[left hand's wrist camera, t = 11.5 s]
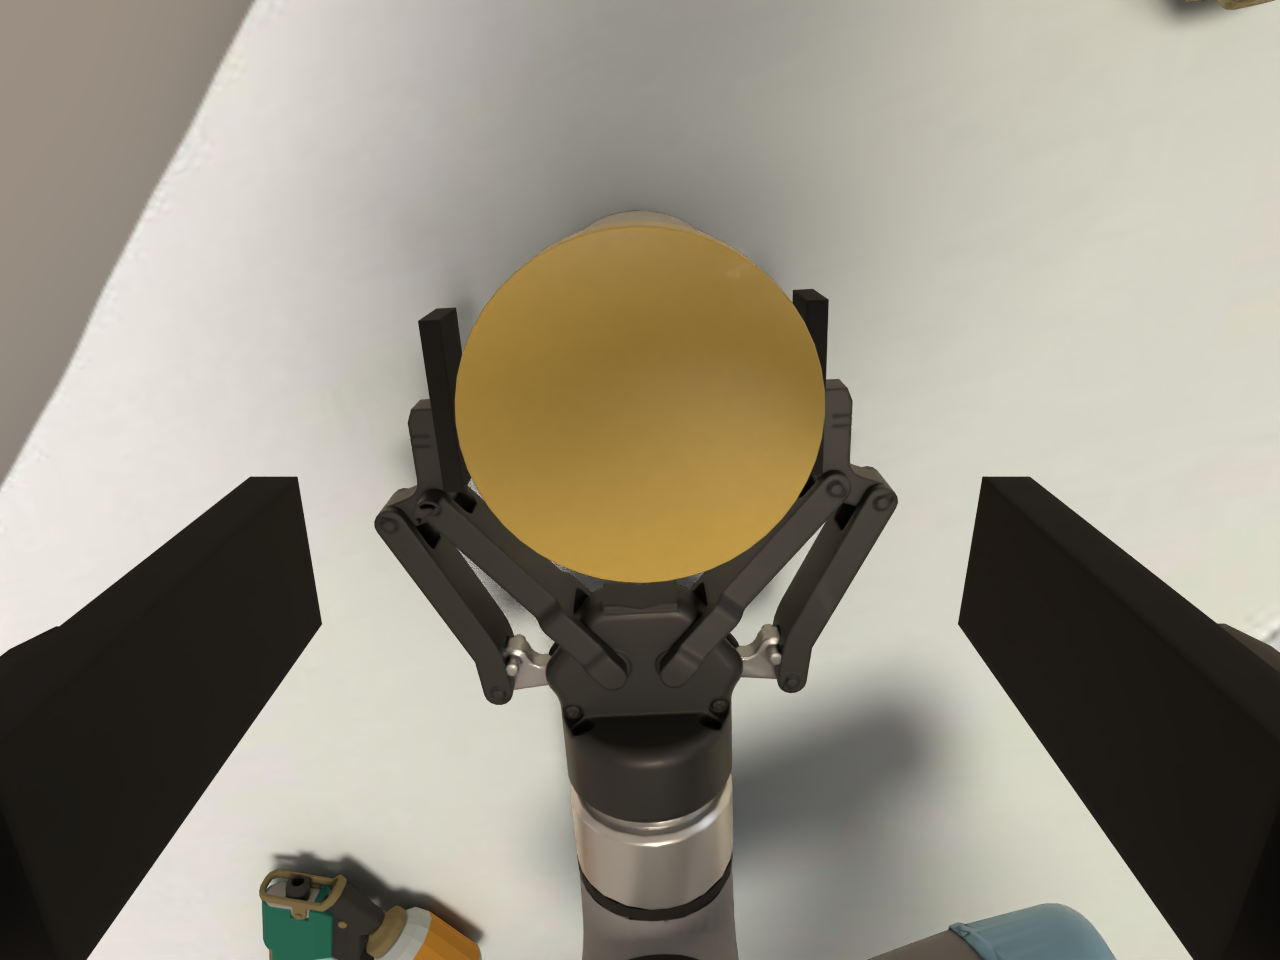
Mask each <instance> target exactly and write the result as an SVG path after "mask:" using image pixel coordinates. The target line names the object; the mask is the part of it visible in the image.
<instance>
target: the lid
mask: <svg viewBox="0 0 1280 960" xmlns="http://www.w3.org/2000/svg"><path fill="white" fill-rule="evenodd" d="M455 417H456V427H457V433H458V438H459V444H460V448H461V451H462V454H463V457H464V460H465V463H466V467H467V469H468V471H469V473H470V476H471V478H472V480H473V482H474V484H475V486H476V488H477V490H478V491H479V493H480V494H481V496H482V498H483V499H484V501H485V502H486V504H487V505H488V507H489V508H490V509H491V511H492V512H493V513H494V514H495V515H496V517H497V518H498V519H499V520H500V521H501V523H502V524H503V525H504V526H505V527H506V528H507V529H508V530H509V531H511V532H512V533H513V534H514V535H515V536H516V537H517V538H518V539H519V540H520V541H522V542H523V543H524V544H526V545H527V546H529V547H530V548H531V549H533V550H534V551H536V552H537V553H538V554H540V555H542V556H544V557H545V558H547V559H549V560H551V561H553V562H555V563H556V564H558V565H561V566H563V567H566V568H568V569H571V570H573V571H576V572H578V573H581V574H585V575H589V576H592V577H596V578H600V579H606V580H612V581H619V582H636V583H648V582H660V581H669V580H674V579H679V578H684V577H689V576H692V575H695V574H698V573H701V572H704V571H707V570H710V569H712V568H714V567H717V566H719V565H721V564H723V563H725V562H727V561H730V560H731V559H733V558H735V557H736V556H738V555H739V554H741V553H743V552H744V551H746V550H748V549H749V548H750V547H752V546H753V545H754V544H755V543H757V542H758V541H759V540H760V539H762V538H763V537H764V536H765V535H767V534H768V533H769V532H770V531H771V530H772V529H773V528H774V526H775V525H776V524H777V523H778V522H779V521H780V520H781V519H782V518H783V517H784V516H785V514H786V513H787V512H788V510H789V509H790V508H791V506H792V505H793V504H794V502H795V501H796V500H797V498H798V496H799V494H800V493H801V491H802V489H803V487H804V486H805V484H806V482H807V480H808V478H809V476H810V473H811V471H812V468H813V466H814V464H815V461H816V458H817V454H818V451H819V447H820V443H821V439H822V434H823V426H824V418H825V389H824V383H823V376H822V369H821V365H820V361H819V358H818V355H817V351H816V348H815V344H814V342H813V340H812V338H811V335H810V333H809V331H808V329H807V327H806V324H805V322H804V321H803V319H802V317H801V316H800V314H799V313H798V311H797V310H796V308H795V306H794V305H793V303H792V302H791V300H790V299H789V298H788V297H787V296H786V294H785V293H784V292H783V291H782V290H781V289H780V287H779V286H778V285H777V284H776V283H775V282H774V281H773V280H772V279H771V278H770V277H769V276H768V275H767V274H765V273H764V272H763V271H762V270H761V269H760V268H759V267H758V266H756V265H755V264H754V263H753V262H752V261H750V260H749V259H748V258H747V257H745V256H744V255H742V254H741V253H739V252H738V251H736V250H735V249H733V248H732V247H731V246H729V245H728V244H726V243H724V242H722V241H720V240H718V239H716V238H714V237H712V236H710V235H708V234H705V233H703V232H700V231H697V230H693V229H690V228H687V227H684V226H680V225H675V224H669V223H664V222H655V221H627V222H616V223H609V224H605V225H601V226H597V227H592V228H588V229H586V230H583V231H581V232H578V233H575V234H573V235H570V236H568V237H565V238H564V239H562V240H560V241H558V242H557V243H555V244H553V245H551V246H549V247H548V248H546V249H544V250H543V251H542V252H540V253H539V254H538V255H537V256H535V257H534V258H533V259H531V260H530V261H529V262H527V263H526V264H525V265H524V266H522V267H521V268H520V269H519V270H517V271H516V272H515V273H514V274H513V275H512V276H511V277H510V278H509V279H508V280H507V281H506V282H505V283H504V284H503V285H502V286H501V287H500V288H499V289H498V290H497V292H496V293H495V294H494V296H493V297H492V298H491V300H490V301H489V302H488V304H487V305H486V306H485V307H484V309H483V310H482V312H481V314H480V316H479V318H478V319H477V321H476V323H475V325H474V327H473V328H472V330H471V332H470V335H469V338H468V340H467V343H466V345H465V348H464V351H463V353H462V357H461V361H460V366H459V370H458V374H457V381H456V392H455Z"/></svg>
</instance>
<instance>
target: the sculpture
mask: <svg viewBox="0 0 1280 960" xmlns="http://www.w3.org/2000/svg"><path fill="white" fill-rule="evenodd" d="M1185 1H1201V0H1185ZM1217 1H1218V3H1219V4H1220V5H1221V6H1222V7H1223V8H1225V9H1227V10H1228V9H1239V8H1244V7H1249V6H1254V5H1258V4H1263V3H1267V2H1270V1H1274V0H1217Z"/></svg>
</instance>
